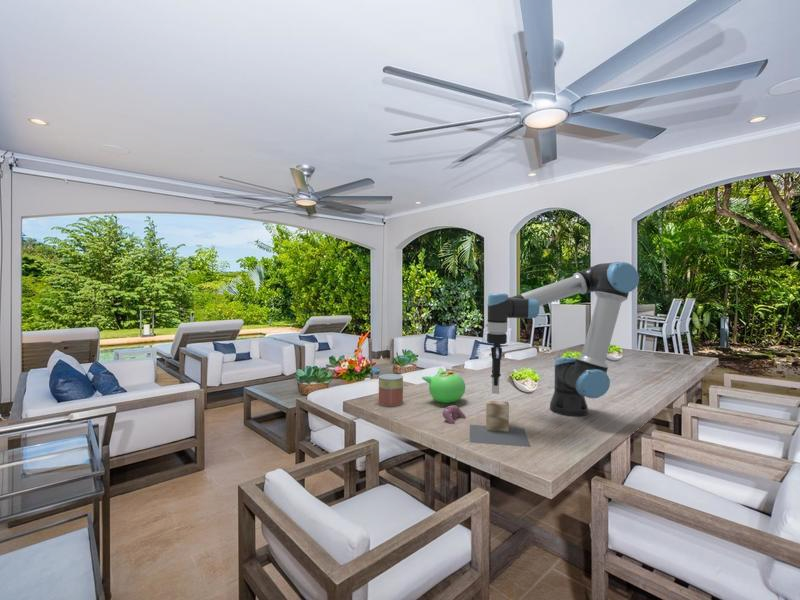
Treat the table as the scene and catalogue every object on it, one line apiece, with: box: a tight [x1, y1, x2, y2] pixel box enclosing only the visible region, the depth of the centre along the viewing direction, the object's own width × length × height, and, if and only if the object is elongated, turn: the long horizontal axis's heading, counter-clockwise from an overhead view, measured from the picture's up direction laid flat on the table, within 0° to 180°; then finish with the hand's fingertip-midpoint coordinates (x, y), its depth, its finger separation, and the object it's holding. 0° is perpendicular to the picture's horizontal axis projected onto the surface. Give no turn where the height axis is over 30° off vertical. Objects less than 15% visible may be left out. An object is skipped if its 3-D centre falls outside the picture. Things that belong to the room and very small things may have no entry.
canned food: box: [378, 373, 404, 407], centre depth 179 cm, size 11×11×12 cm
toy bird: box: [421, 367, 466, 404], centre depth 180 cm, size 18×17×15 cm
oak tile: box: [485, 400, 510, 432], centre depth 144 cm, size 8×3×10 cm, turn 80°
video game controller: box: [442, 404, 466, 425], centre depth 155 cm, size 10×5×7 cm, turn 141°
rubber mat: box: [469, 424, 532, 448], centre depth 139 cm, size 20×17×1 cm
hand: (495, 393), depth 152 cm, fingers closed
